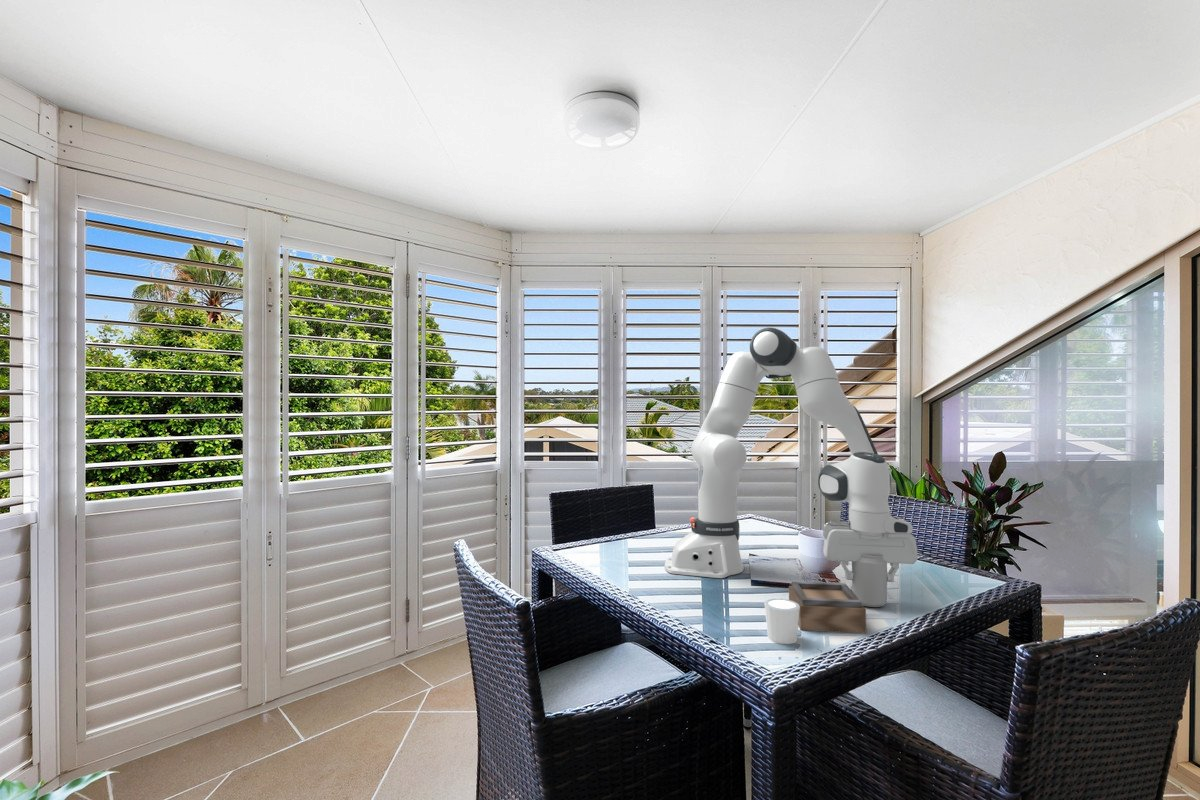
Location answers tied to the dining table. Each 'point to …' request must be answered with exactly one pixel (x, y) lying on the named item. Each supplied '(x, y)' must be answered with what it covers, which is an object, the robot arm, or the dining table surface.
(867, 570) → the can
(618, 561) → the dining table surface
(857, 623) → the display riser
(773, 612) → the white cylinder
